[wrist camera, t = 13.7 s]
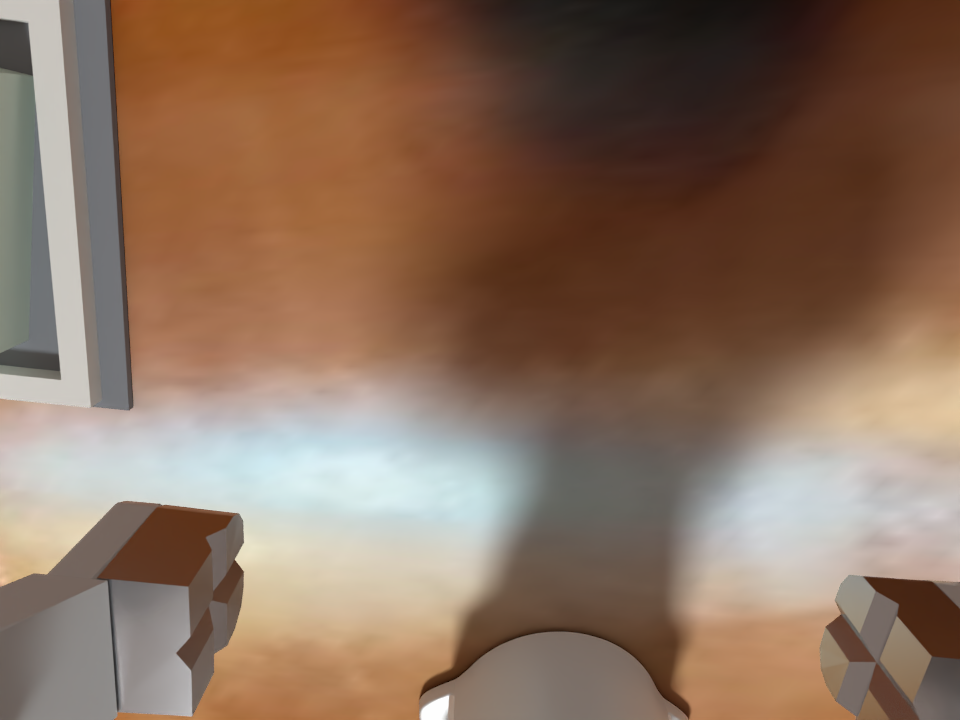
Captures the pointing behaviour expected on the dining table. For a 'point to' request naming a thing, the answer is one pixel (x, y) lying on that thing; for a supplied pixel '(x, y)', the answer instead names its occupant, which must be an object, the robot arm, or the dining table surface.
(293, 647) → the dining table surface
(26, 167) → the pale green rectangular block
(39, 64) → the picture frame
